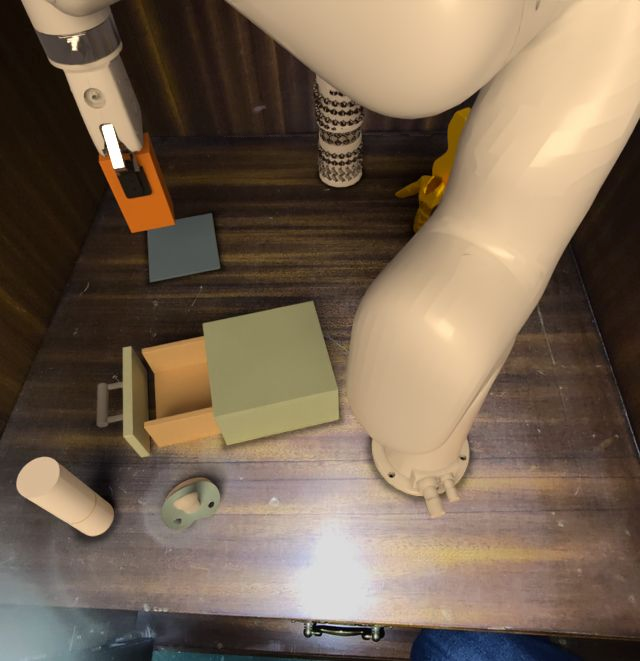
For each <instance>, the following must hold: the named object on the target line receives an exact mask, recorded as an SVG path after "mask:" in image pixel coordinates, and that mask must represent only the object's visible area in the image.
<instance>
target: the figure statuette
mask: <svg viewBox="0 0 640 661" xmlns="http://www.w3.org/2000/svg"><path fill="white" fill-rule="evenodd" d="M471 109H472V108H471V107H470V106H467V107H464V108H462V109H460V110H457V111H455V113H454V114H453V116H452V118H451V120H450V121H449V123H448V125H447V150H446V152H445V153H443V154H442V155H441V156H439V157H438V158H436V159H435V160H434V162H433V165H432V169H431V170H432V171H431V175H422V176H421V177H420V178H419V179H417V181H413V182H412V183H410V184H408V185H406V186H405V187H403V188H402V189H400V190H398V191H396V192H395V193H394V194H395V197H397V198H398V199H404V198H409V197H413V196H415V195H417V194H418V209H417V211H416V214H415V217H414V220H413V232H414V234H416V233H417V232H418V231H419V229H420V228H421V227H422V226H423V225H424V224H425V223H426V222H427V220H428V219H429V218H430V213H431V210H432V209H433V207H434V206H436V205H437V204H439V202H440V200H441V198H442V195H443V193H444V190H445V188H446V185H447V182H448V179H449V176H450V173H451V169H452V166H453V163H454V159H455V154H456V150H457V146H458V142H459V138H460V135H461V133H462V130H463V127H464V125H465V122H466V120H467V118H468V115H469V113H470V111H471Z"/></svg>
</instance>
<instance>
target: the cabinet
mask: <svg viewBox="0 0 640 661" xmlns="http://www.w3.org/2000/svg"><path fill="white" fill-rule="evenodd" d="M202 331H203V336H204V340H205V348H206V357H207V365H208V374H209V382H210V390H211V399H212V407H213V416H214V419H215V421H216V423H217V425H218V427H219V429H220V431H221V436H222V438H223V439H224V442H225V444H226V446H229V445H234V444H235V445H236V444H240V443H244V442H249V441H253V440H256V439H260V438H265V437H269V436H274V435H278V434H282V433H287V432H291V431H295V430H300V429H304V428H309V427H313V426H317V425H321V424H326V423H331V422H335V421H338V420H339V421H340V406H339V405H340V401H339V388H338V383H337V379H336V377H335V372H334V370H333V365H332V363H331V362H332V361H331V358H330V355H329V352H328V349H327V345H326V341H325V338H324V337H325V336H324V334H323V331H322V327H321V323H320V320H319V317H318V313H317V310H316V306H315V302H314V300H310V301H304V302H300V303H294V304H291V305H286V306H285V305H284V306H281V307H276V308H272V309H271V308H270V309H266V310H261V311H256V312H252V313H251V312H250V313H246V314H241V315H237V316H232V317H227V318H223V319H218V320H212V321H207V322H203V323H202Z"/></svg>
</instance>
